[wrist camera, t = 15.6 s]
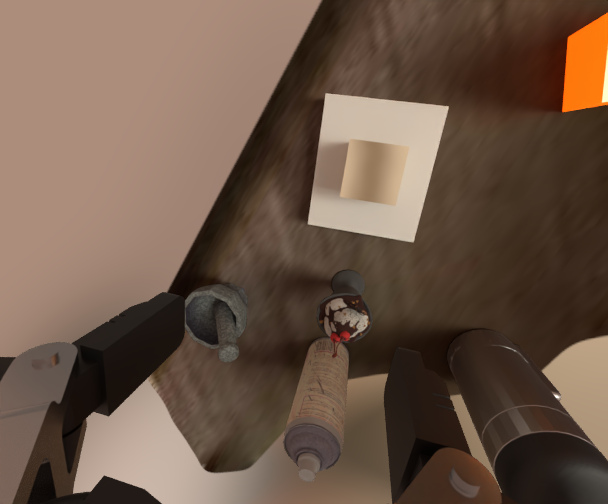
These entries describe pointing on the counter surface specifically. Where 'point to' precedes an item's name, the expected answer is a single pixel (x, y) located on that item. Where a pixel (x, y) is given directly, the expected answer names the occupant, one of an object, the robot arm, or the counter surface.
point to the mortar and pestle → (217, 318)
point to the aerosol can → (318, 409)
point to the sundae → (345, 310)
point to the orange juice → (587, 67)
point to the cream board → (384, 129)
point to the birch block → (373, 171)
